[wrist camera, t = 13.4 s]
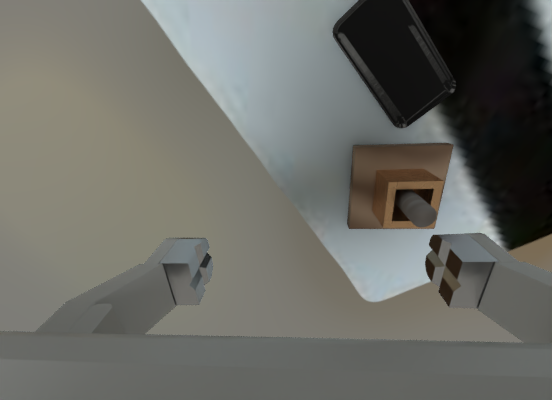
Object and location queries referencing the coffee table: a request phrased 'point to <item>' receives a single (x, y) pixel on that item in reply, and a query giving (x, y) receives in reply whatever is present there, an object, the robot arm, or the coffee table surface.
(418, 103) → the phone
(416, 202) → the post stand
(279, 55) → the coffee table surface
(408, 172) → the wooden square sleeve
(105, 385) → the robot arm
